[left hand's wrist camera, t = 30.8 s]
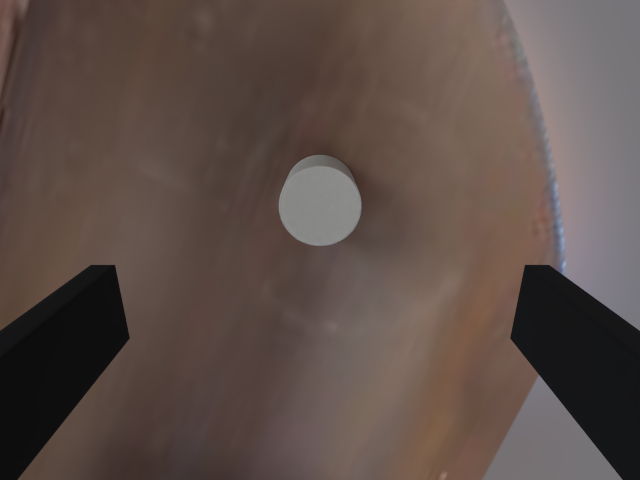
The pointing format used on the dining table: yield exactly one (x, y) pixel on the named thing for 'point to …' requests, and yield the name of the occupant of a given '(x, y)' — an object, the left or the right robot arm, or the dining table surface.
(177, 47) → the dining table surface
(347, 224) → the grey solid cylinder
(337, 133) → the dining table surface
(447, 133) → the dining table surface
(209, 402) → the dining table surface
